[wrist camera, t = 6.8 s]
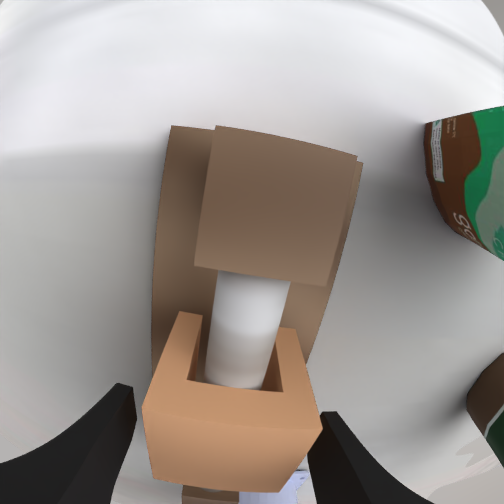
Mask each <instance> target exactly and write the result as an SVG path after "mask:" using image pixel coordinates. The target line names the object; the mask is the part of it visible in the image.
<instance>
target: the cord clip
mask: <svg viewBox="0 0 504 504" xmlns="http://www.w3.org/2000/svg"><path fill="white" fill-rule="evenodd" d="M202 317H203V315H198V314H193V313H187V312H182V311H179V313H178V316H177V318H176V321H175V323H174V325H173V328H172V330H171V333H170V335H169V338H168V340H167V343H166V345H165V348H164V350H163V353H162V355H161V358H160V360H159V363H158V365H157V368H156V371H155V373H154V376H153V378H152V381H151V384H150V386H149V389H148V392H147V394H146V397H145V400H144V402H143V405H142V415H143V422H144V429H145V436H146V442H147V448H148V453H149V459H150V464H151V469H152V474H153V478H154V479H158V480H163V481H167V482H172V483H177V484H182V485H188V486H194V487H201V488H208V489H216V490H226V491H239V492H260V493H279V492H280V491H281V489H282V488H283V487H284V485H285V484H286V483H287V481H288V480H289V479H290V477H291V476H292V475H293V473H294V472H295V470H296V469H297V468H298V466H299V465H300V463H301V462H302V460H303V459H304V457H305V456H306V454H307V453H308V451H309V450H310V448H311V447H312V445H313V444H314V442H315V441H316V439H317V437H318V436H319V434H320V433H321V431H322V429H323V428H322V424H321V420H320V416H319V412H318V409H317V405H316V401H315V398H314V394H313V390H312V387H311V383H310V379H309V376H308V372H307V368H306V365H305V361H304V358H303V354H302V351H301V347H300V343H299V340H298V336H297V333H296V329H293V328H284V327H279V328H278V332H277V335H276V339H275V342H274V346H273V350H272V353H271V357H270V360H269V363H268V367H267V370H266V374H265V377H264V380H263V384H262V387H261V390H250V389H242V388H233V387H226V386H219V385H213V384H207V383H201V382H196V371H197V361H198V352H199V343H200V334H201V325H202Z"/></svg>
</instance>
